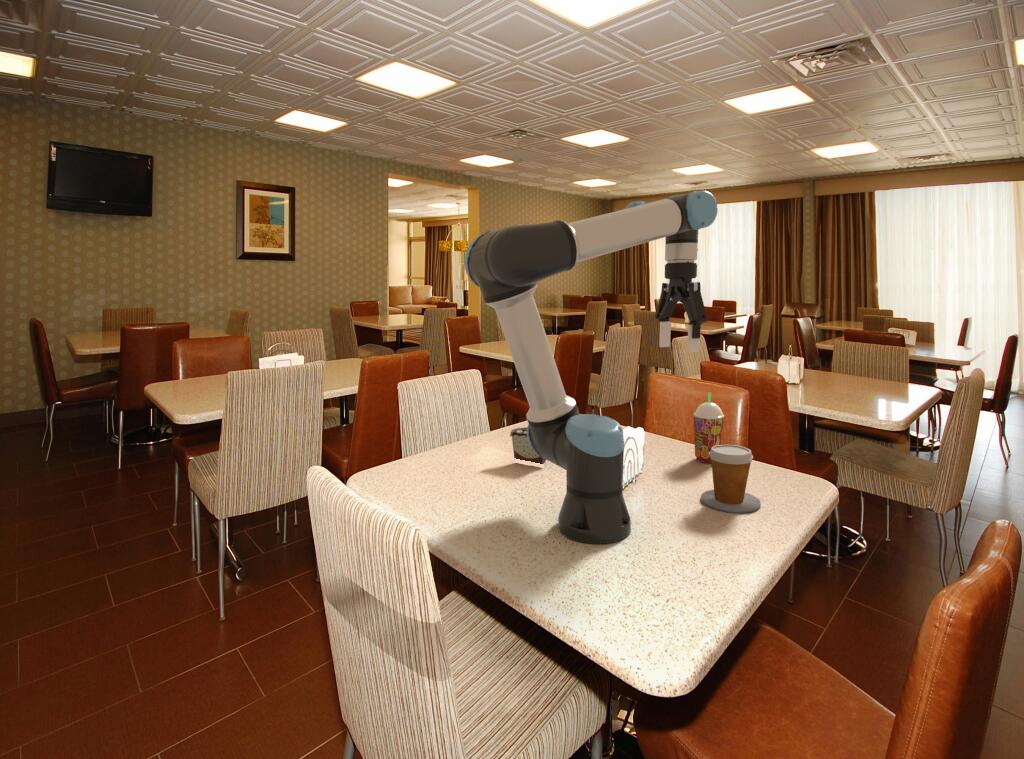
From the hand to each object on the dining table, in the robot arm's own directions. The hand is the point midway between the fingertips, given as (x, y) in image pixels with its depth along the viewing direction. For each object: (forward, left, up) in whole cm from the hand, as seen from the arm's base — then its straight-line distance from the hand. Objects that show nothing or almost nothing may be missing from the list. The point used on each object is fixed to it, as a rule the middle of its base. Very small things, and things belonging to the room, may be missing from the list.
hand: (678, 349), depth 138 cm
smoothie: (+19, +15, -35) cm, 42 cm away
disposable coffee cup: (+5, -15, -34) cm, 38 cm away
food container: (-30, +27, -35) cm, 53 cm away
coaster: (+6, -15, -35) cm, 38 cm away
